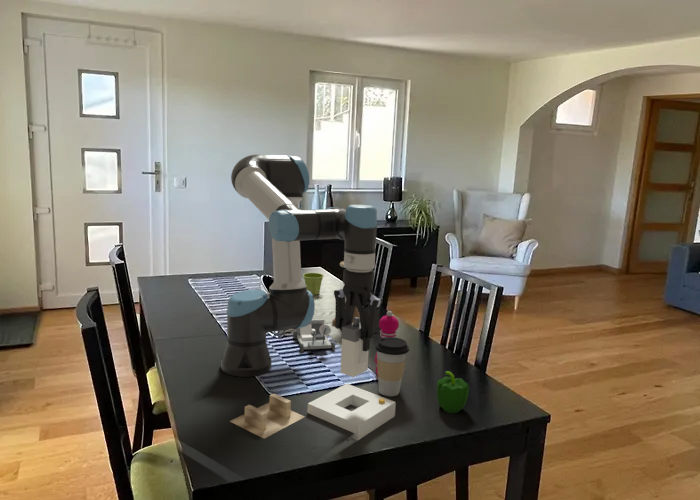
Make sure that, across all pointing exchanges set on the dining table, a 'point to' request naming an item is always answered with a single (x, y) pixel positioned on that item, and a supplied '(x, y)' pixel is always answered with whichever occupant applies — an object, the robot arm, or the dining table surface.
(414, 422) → the dining table surface
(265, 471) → the dining table surface
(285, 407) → the plate with raised blocks
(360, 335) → the plug
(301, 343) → the grey mechanical device
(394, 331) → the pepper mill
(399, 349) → the coffee cup
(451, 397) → the bell pepper
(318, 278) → the plant pot
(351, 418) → the port block
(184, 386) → the dining table surface
